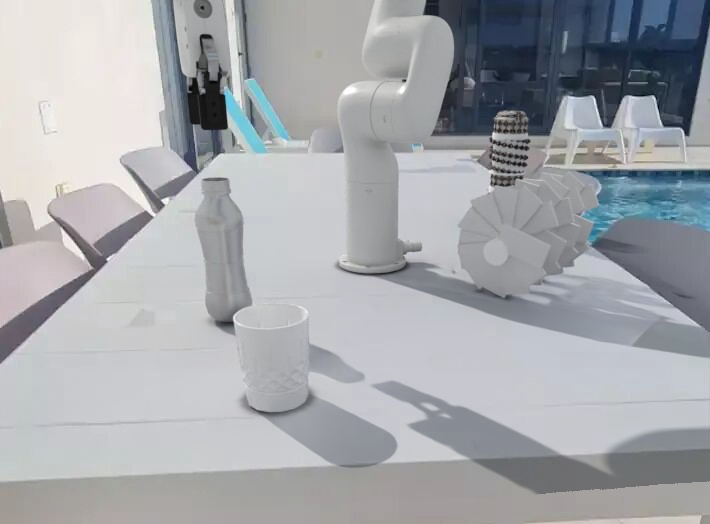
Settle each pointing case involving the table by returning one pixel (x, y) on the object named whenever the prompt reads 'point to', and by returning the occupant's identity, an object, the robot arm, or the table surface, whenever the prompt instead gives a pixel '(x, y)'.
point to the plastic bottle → (222, 250)
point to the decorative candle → (508, 148)
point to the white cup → (274, 355)
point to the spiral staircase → (525, 232)
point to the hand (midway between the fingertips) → (208, 126)
